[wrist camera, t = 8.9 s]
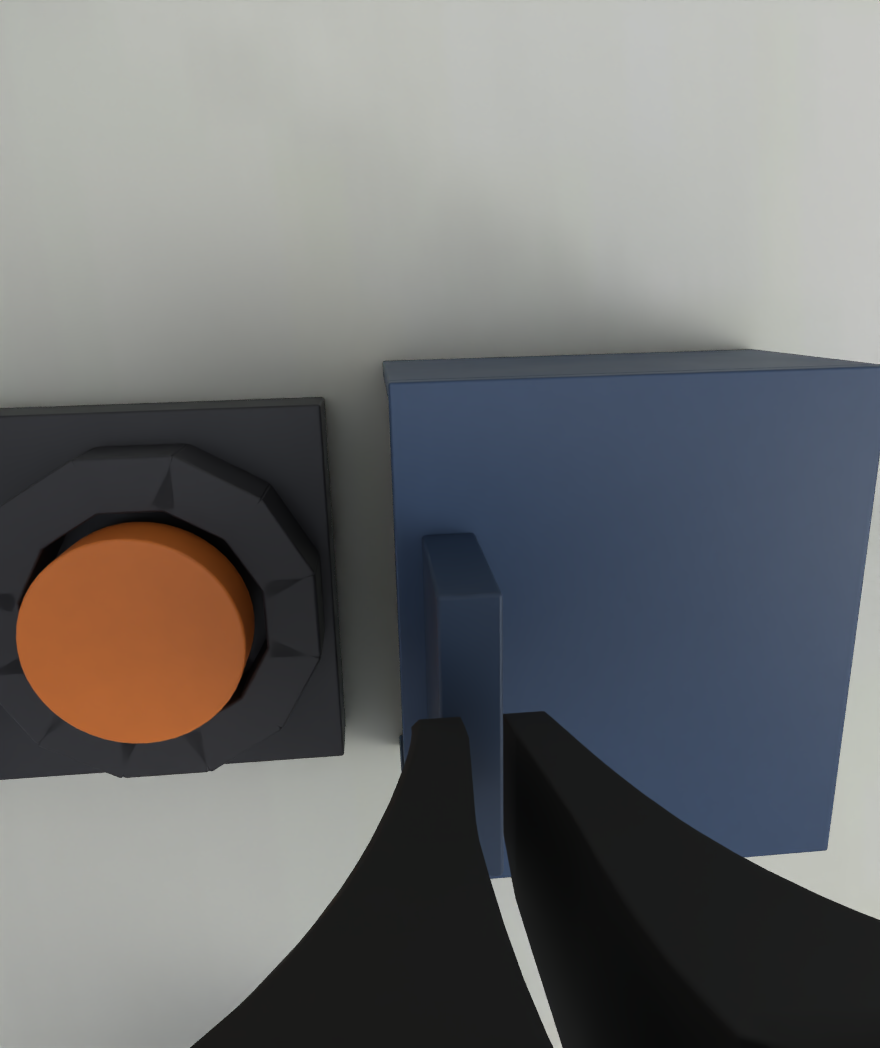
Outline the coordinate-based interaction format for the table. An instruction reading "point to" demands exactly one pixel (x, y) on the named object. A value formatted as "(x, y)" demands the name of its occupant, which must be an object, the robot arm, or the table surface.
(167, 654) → the equals key
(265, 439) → the control panel
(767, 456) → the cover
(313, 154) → the table surface
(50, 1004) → the table surface
